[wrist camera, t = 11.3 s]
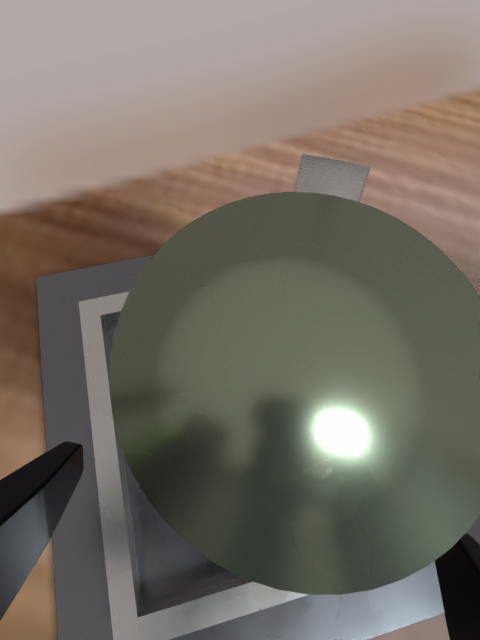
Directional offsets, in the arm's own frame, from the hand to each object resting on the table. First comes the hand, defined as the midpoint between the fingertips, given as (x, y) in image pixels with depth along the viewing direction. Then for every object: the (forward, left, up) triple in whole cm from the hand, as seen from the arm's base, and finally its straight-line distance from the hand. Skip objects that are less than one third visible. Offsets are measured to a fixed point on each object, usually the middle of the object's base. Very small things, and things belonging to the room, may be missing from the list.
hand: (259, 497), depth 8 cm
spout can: (+1, +2, -8) cm, 9 cm away
